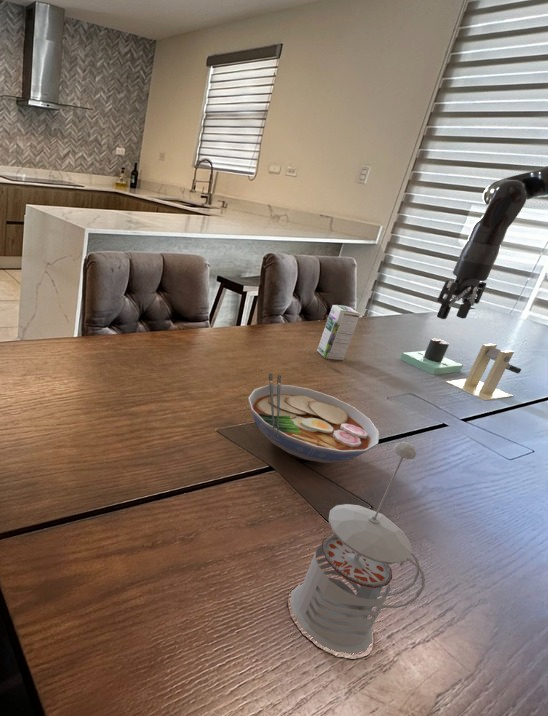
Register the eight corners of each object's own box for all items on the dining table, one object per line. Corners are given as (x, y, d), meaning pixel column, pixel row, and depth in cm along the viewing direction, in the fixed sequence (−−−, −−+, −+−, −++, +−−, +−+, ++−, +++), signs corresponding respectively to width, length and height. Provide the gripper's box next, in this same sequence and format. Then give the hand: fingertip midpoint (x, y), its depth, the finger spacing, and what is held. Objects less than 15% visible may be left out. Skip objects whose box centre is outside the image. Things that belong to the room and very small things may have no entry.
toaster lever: (496, 367, 127) (502, 360, 127) (517, 375, 123) (523, 368, 123) (479, 352, 121) (485, 344, 121) (500, 360, 117) (507, 352, 117)
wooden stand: (471, 381, 130) (491, 339, 125) (511, 399, 122) (534, 355, 117) (443, 385, 126) (463, 341, 121) (482, 404, 117) (506, 357, 112)
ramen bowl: (377, 508, 75) (395, 467, 72) (233, 464, 82) (244, 425, 79) (356, 431, 97) (369, 397, 94) (244, 402, 104) (253, 368, 101)
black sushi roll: (430, 355, 137) (438, 336, 135) (445, 361, 134) (453, 343, 132) (420, 355, 136) (428, 337, 134) (435, 362, 132) (443, 343, 130)
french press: (283, 572, 61) (345, 408, 52) (380, 603, 59) (464, 435, 49) (289, 641, 53) (364, 458, 43) (403, 680, 50) (511, 495, 40)
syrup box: (316, 350, 139) (331, 304, 133) (335, 352, 139) (351, 306, 133) (324, 358, 133) (340, 310, 128) (344, 361, 134) (361, 313, 128)
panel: (425, 359, 142) (429, 350, 141) (458, 374, 134) (463, 364, 133) (398, 362, 138) (402, 352, 137) (431, 377, 130) (436, 367, 128)
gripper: (474, 263, 117) (448, 323, 123) (508, 264, 122) (481, 322, 129) (444, 255, 123) (421, 313, 130) (477, 257, 129) (453, 312, 135)
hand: (451, 317), depth 129 cm, fingers open, 8 cm apart
